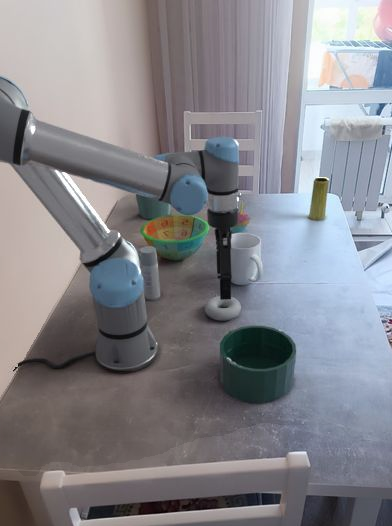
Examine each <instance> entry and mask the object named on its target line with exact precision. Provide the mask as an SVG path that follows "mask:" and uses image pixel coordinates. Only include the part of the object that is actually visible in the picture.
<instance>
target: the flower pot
mask: <svg viewBox="0 0 392 526" xmlns="http://www.w3.org/2000/svg"><path fill="white" fill-rule="evenodd" d="M135 198H136V203H137V208H138V213H139V216H140V217H142V218H143V219H145V220H152V219H155V218H158V217H162V216H168V215H171V204H167V203H164V202H161V201H158V200H154V199H151V198H148V197H144V196H141V195H138V194H135Z"/></svg>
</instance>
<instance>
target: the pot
mask: <svg viewBox="0 0 392 526" xmlns="http://www.w3.org/2000/svg"><path fill="white" fill-rule="evenodd" d="M296 357H297V346H296V343H295V342H294V340H293V339H292V337H291V336H289V335H288V334H287V333H285V332H284V331H283V330H280V329H277V328H275V327H272V326H266V325H247V326H241V327H238V328H235V329H232V330H230V331H229V332H228V333H226V334H225V335H223V337H222V339H221V340H220V343H219V381H220V384H221V386H222V388H223V389H224V391H225V392H226V393H228V395H230V396H232V397H233V398H235V399H237V400H240V401H243V402H247V403H254V404H263V403H269V402H273V401H274V402H275V401H277V400H279V399H281V398H283V397H284V396H285V395H286V394H287V393H288V392H289V391H290V390H291V388H292V386H293V381H294V376H295V367H296Z"/></svg>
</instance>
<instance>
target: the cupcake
mask: <svg viewBox="0 0 392 526" xmlns="http://www.w3.org/2000/svg"><path fill="white" fill-rule="evenodd" d="M244 202H245V200H244V199H243V200H242V202H241V205H240V210H239V214H238V224H237V225H236V226H234V227H231V233H232V234H235V233H246V232H245V231H246V229H247V226H248V225H249V224H250V222H251V216H249V214H248V213H246V212H244V211H243V209H244V204H245V203H244Z"/></svg>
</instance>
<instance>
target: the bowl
mask: <svg viewBox="0 0 392 526" xmlns="http://www.w3.org/2000/svg"><path fill="white" fill-rule="evenodd" d="M209 231H210V225H209V224H208V221H207V220H204V219H203V218H201V217H198V216H194V215H184V214H169V215H168V216H162V217H158V218H155V219H149V220H148V221H146V222H145V223H144V224H143V225H142V226H141V227H140V234H141V235H142V237H143V238H144V240H145V241H146V243H147V246H152V247H155V248H156V255H158V256H160V257H161V258H164V259H167V260H169V261H182V260H184V259H186V258H188V257H191V256H193V254H195V253H196V252H197V251H198V250H200V248H201V247H202V245H203V243H204V241H205V239H206V238H207V234H208V233H209Z"/></svg>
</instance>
